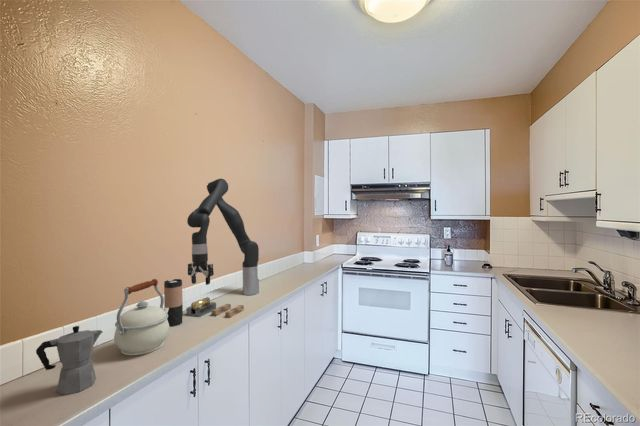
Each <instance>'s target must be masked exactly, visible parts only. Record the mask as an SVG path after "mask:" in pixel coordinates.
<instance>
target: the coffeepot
mask: <svg viewBox="0 0 640 426" xmlns="http://www.w3.org/2000/svg"><path fill="white" fill-rule="evenodd" d="M79 330H80V325H75V326H73V327H72V331H73V332H70V333H67V334H64V335H60V337H58V338H54V339H50V340H46V341H42V343H41V344H40V345H39V346H38V347H37V348H36V350H35V353H36V355H37V357H38V359H39V360H40V362H41V364H42V366H43V367H44V369H45V370H46V371H50V370H53V369H55V368H56V366H57V364H50V360H49V358H48V356H47V352H46V350H45V349H48V348H55V347H56V349H57V353H58V358H59V363H61V364H62V366H61V369H60V372H59V377H58V384H57V389H56V393H58V394H60V395H73V394H77V393H80V392H82V391H85V390H87V389H89V388H91V387H92V386H93V385H94V384H95V382H96V380H97V377H96V373H95V368H94V364H93V360H92V359H91V358H92V357H91V356H92V355H93V351H94V346H95V343H96V342H97V340H98V338H99V337H100V335H102V333H104V332H103V330H101V329H100V330H99V329H94V330H90V329H89V330H88V329H86V330H80V331H79Z"/></svg>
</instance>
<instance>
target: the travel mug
mask: <svg viewBox="0 0 640 426" xmlns="http://www.w3.org/2000/svg"><path fill="white" fill-rule="evenodd" d="M163 285H164V287H163V289H164V290H163V291H164V295H163V297H164V305H163V309H164V308H169V310H168V313H167V314H168V318H167V320H168V323H169V327H176V326H180V325H181V324H182V323H183V315H184V314H183V313H184V312H183V310H184V307H183V305H184V304H183V303H184V302H183V279H181V278H174V279H172V280H165V281H164V282H163Z"/></svg>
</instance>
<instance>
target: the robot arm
mask: <svg viewBox="0 0 640 426" xmlns="http://www.w3.org/2000/svg"><path fill="white" fill-rule="evenodd" d="M207 184H208V185H206V190H207V192H208V195H207V196H206V197H205V198H204V199H203V200H202V201H201V202H200V204H199V206H198V207H197V208H195V209H194V210H193V211H192V212H191V213H190V214H189V215H188V217H187V218H186V219H187V220H186V222H187V225H188V226H189V227H190V228H194V229H195V228H200V229H199V230H198V231H196V232H193V233H191V261H192V262H191V263H188V264H187V275H188V276H190V278H191V284H192V285H194V284H196V283H197V274H198V273H202V274H203V275H204V276H205V285H206V286H208V285H210V284H211V277H212V276H214V274H215V273H214V264H213V263H209V264H208V261H209V257H208V253H209V252H208V251H209V250H208V242H207V241H208V239H207V236H208V229H209V226H210V217H209V216H210V215H211V214H212V212H213V210H214V209H215V207H216V206H217V207H218V210H219V212H221V215H222V217H223V219H224V221H225V222H226V224H227V226H228V228H229V230H230V232H231V233H232V235H233V236H234V237H235V240H236V242H237V244H238V247H239V249H240V251H241V253H242V254H244V257H243V258H244V260H243V261H242V295H244V296H255V295H257V294H260V278H259V277H258V273H259V272H258V269H259V268H258V265H259V264H258V263H259V256H260V255H259V254H260V253H259V249H260V248H259V245H258V243H257V242H256V241H254V240H252V239H250V237H249V236H248V234H247V232H246V229H245V223H244V221H243V218H242V216H241V214H240V212H239V210H237V209H236V208H235V207H234V206H232V205H230V204H229V203H228V202H226V201H225V200H224V198H223V196H224V195H226V194H227V193H228V191H229V183H228V182H227V180H226V179H224V178H217V179H215V180H212V181H211V182H208V183H207Z"/></svg>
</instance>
